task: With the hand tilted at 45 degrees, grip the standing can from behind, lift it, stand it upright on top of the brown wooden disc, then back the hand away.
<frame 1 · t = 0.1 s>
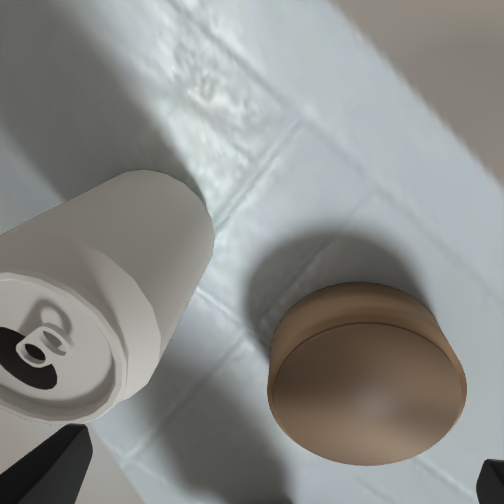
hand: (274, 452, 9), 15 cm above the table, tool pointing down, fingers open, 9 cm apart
can: (157, 227, 23), on the table
brown wooden disc: (354, 356, 25), on the table
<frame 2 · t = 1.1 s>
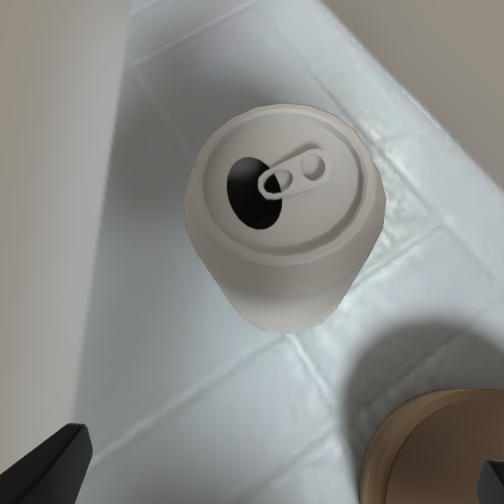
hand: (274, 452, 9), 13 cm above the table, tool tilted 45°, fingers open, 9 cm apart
can: (284, 276, 24), on the table
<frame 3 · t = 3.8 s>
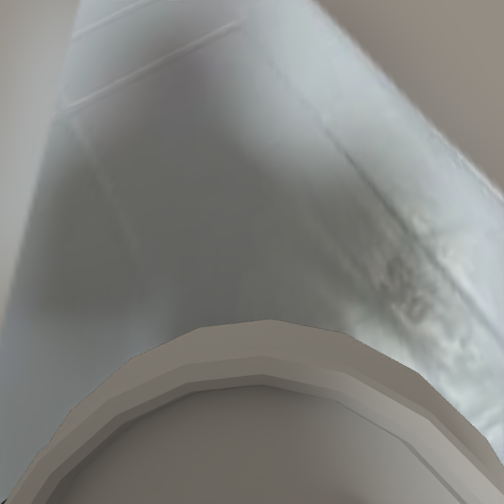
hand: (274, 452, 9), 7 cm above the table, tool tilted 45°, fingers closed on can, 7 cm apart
can: (278, 470, 15), on the table, touching gripper
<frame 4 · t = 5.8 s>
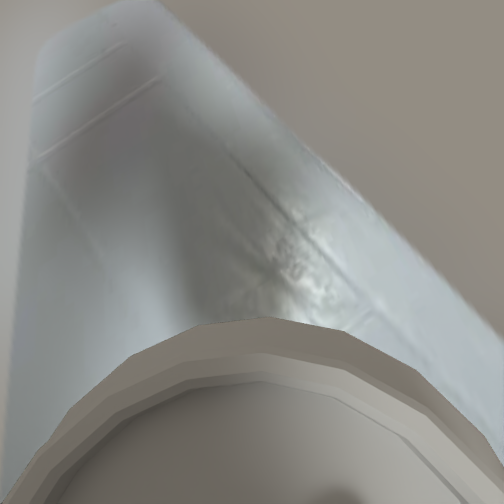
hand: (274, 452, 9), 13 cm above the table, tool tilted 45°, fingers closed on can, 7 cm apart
can: (277, 468, 15), point 7 cm above the table, touching gripper
when the fingers open (11 cm above the table, at t = 7.6 s): can stays where it is, resting on brown wooden disc.
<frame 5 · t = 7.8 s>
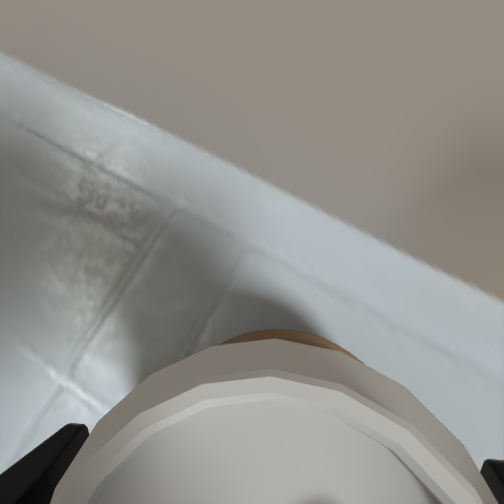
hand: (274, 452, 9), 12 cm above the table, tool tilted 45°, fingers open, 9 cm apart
can: (279, 470, 15), point 4 cm above the table, touching brown wooden disc
brown wooden disc: (280, 453, 19), on the table
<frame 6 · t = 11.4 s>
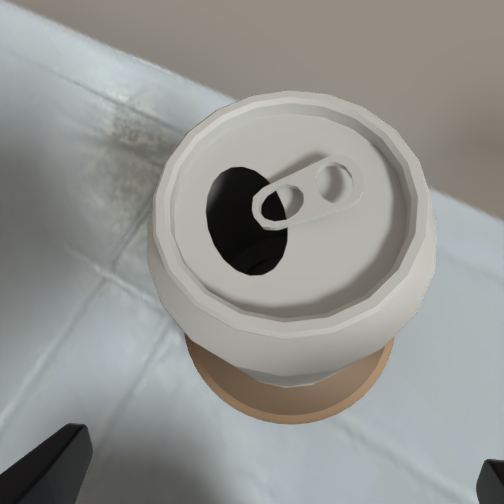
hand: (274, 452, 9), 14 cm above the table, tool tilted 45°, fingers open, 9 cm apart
can: (287, 311, 20), point 4 cm above the table, touching brown wooden disc
brown wooden disc: (286, 322, 23), on the table
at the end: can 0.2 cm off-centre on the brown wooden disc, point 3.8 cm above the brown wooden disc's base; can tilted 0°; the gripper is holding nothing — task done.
